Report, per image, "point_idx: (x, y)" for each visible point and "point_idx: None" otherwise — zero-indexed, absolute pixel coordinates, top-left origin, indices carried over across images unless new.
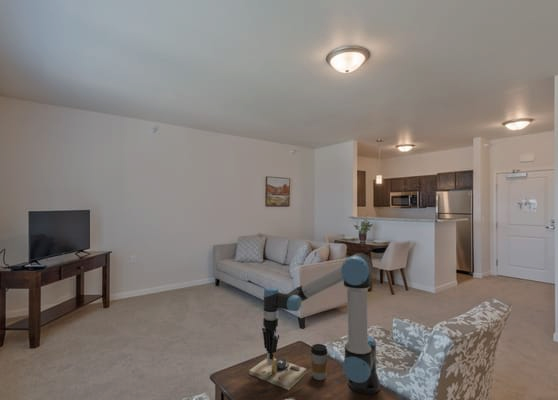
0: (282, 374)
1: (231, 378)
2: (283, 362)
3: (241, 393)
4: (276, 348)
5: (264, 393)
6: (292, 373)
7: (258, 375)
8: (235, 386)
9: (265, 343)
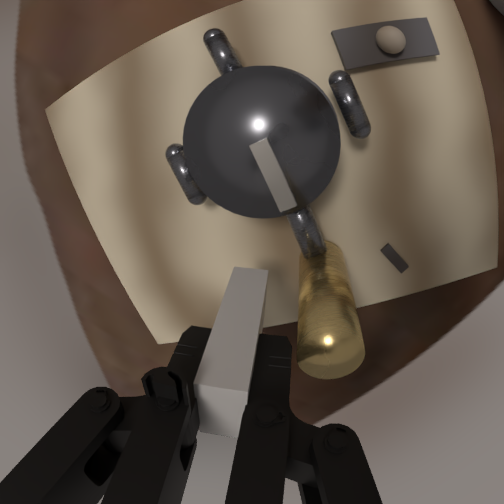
0: (375, 200)
1: None
2: (320, 139)
3: None
4: (376, 494)
5: (386, 366)
6: (426, 116)
7: None
8: None
9: (104, 489)
